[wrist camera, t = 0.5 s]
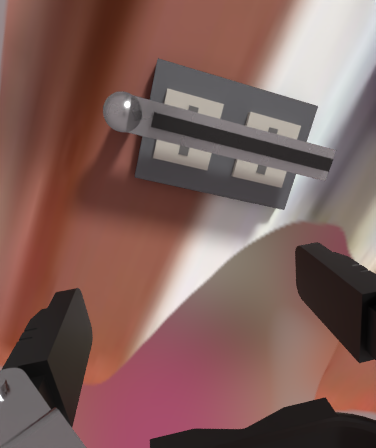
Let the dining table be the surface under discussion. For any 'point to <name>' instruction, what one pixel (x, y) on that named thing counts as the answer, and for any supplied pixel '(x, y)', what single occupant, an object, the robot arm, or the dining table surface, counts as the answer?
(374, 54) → the dining table surface
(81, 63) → the dining table surface
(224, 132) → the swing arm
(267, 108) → the label panel
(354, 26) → the dining table surface
